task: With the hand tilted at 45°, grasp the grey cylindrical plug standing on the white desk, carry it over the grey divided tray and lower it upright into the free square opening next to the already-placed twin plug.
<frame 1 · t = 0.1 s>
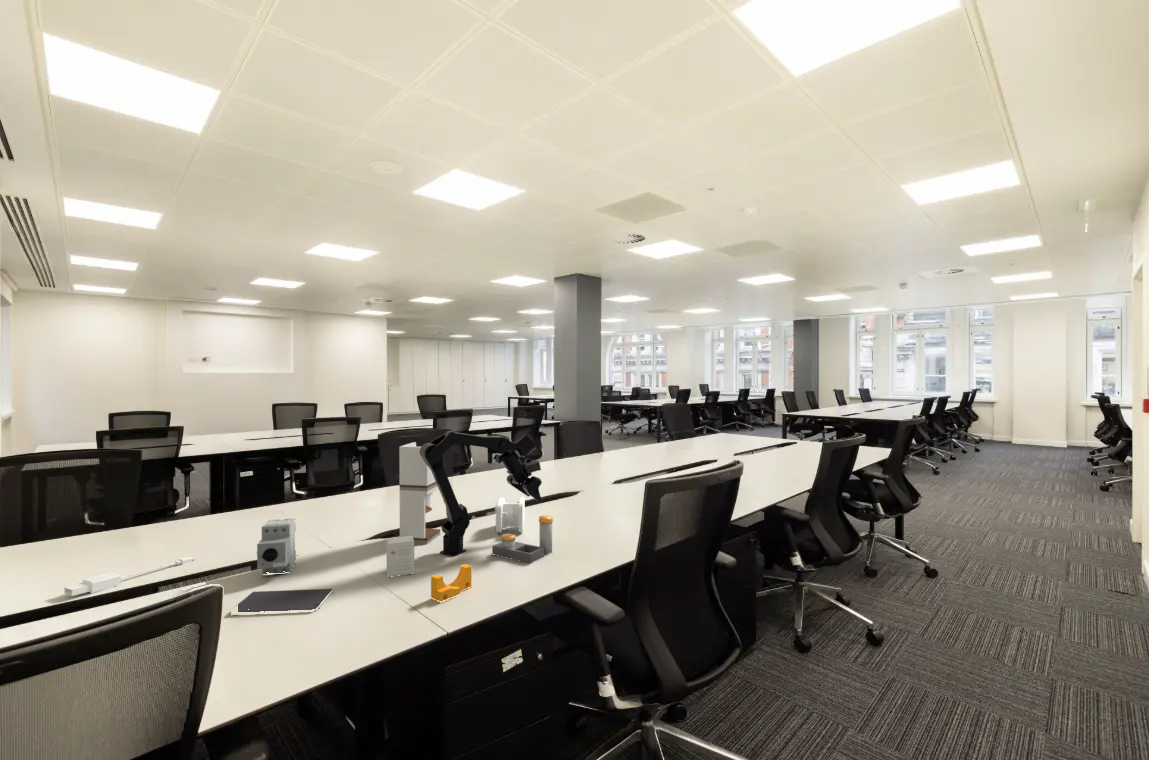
hand: (534, 498, 197), 15 cm above the table, tool tilted 35°, fingers open, 9 cm apart
small box: (400, 573, 163), on the table
pipe clamp: (453, 595, 148), on the table
charging cable: (134, 579, 159), on the table
cable organizer: (510, 530, 208), on the table
plug: (545, 551, 183), on the table
circuit breaker: (276, 574, 162), on the table
grey divided tray: (518, 555, 179), on the table
notebook: (283, 606, 142), on the table
display case: (420, 538, 197), on the table
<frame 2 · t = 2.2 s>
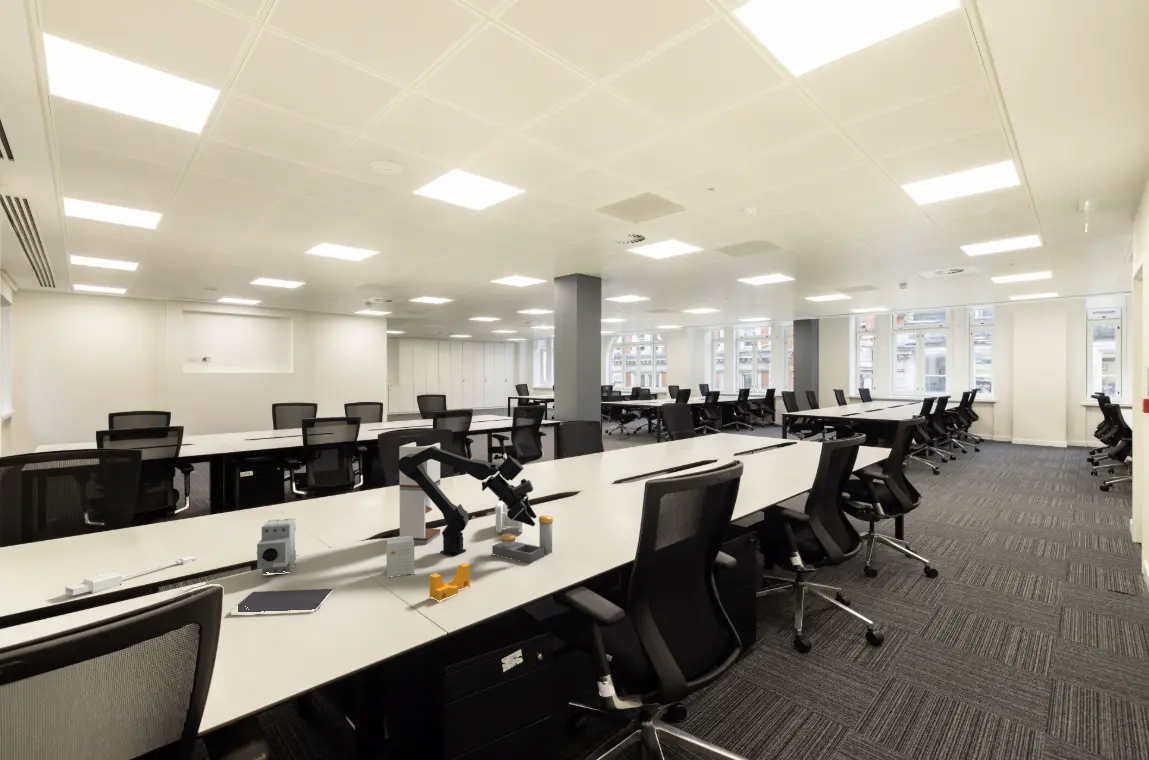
hand: (535, 521, 182), 11 cm above the table, tool tilted 45°, fingers open, 9 cm apart
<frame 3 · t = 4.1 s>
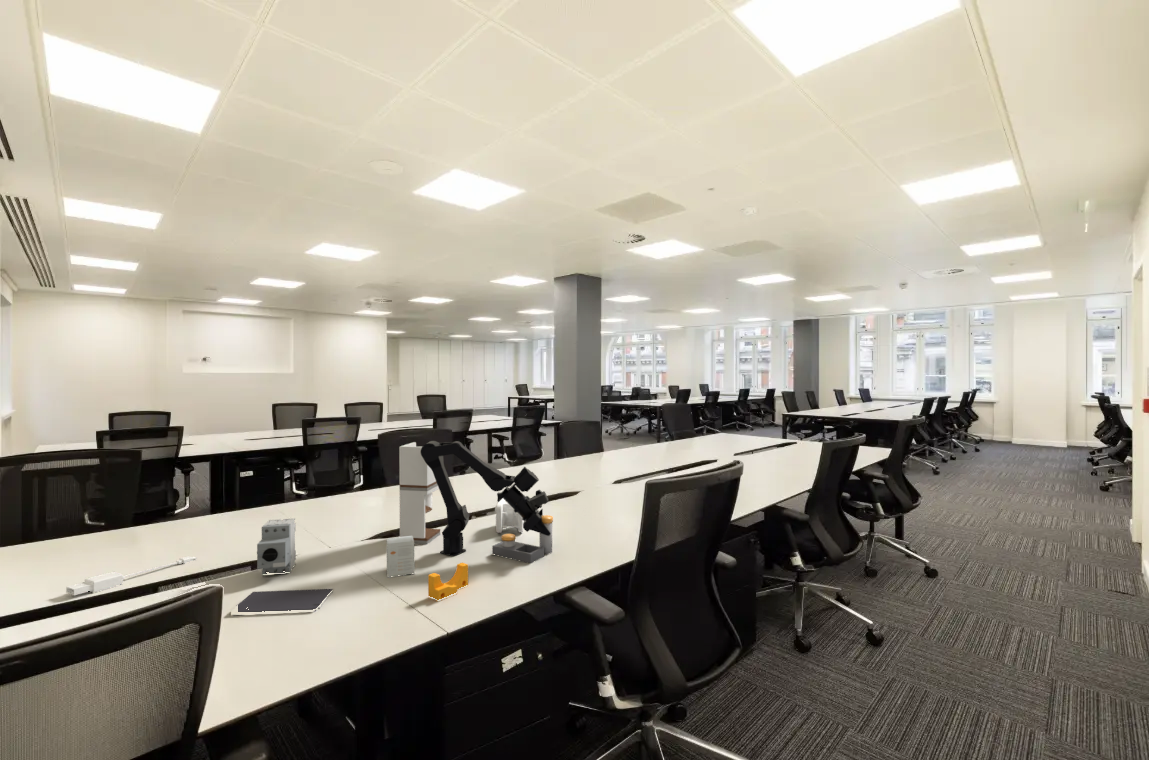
hand: (549, 532, 183), 7 cm above the table, tool tilted 45°, fingers closed on plug, 4 cm apart
plug: (545, 551, 183), on the table, touching gripper
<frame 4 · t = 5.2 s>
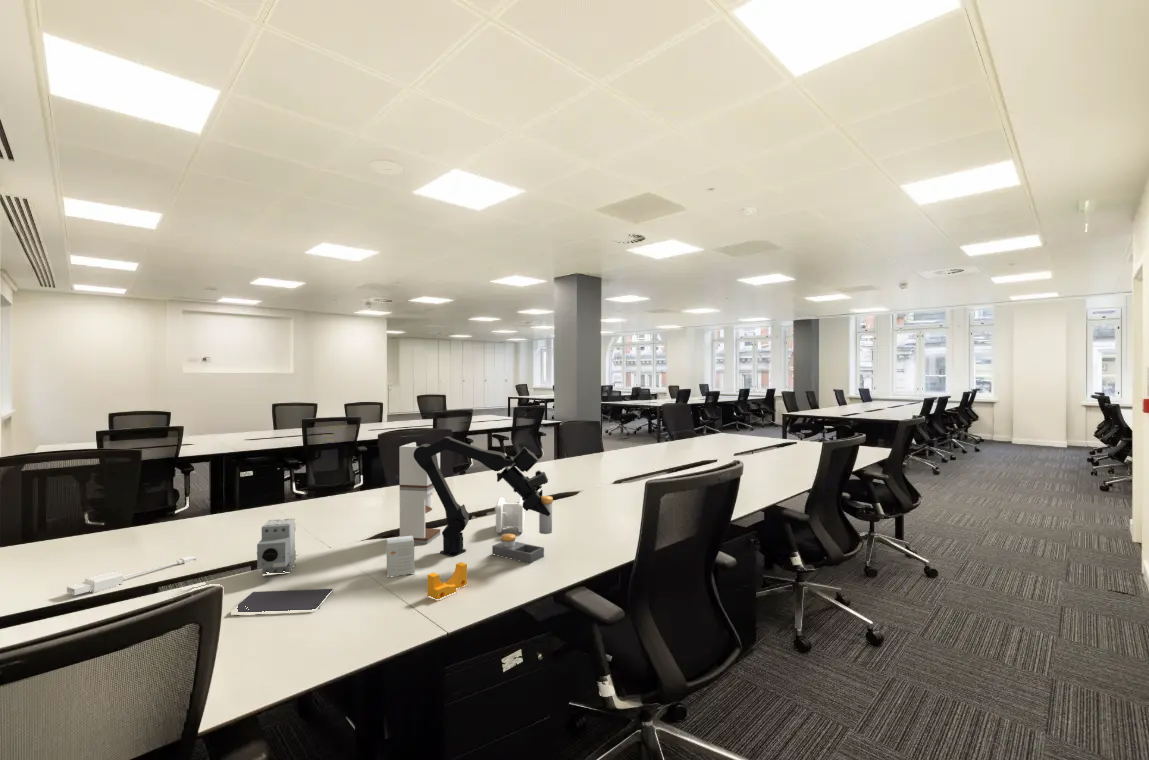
hand: (549, 513, 182), 13 cm above the table, tool tilted 45°, fingers closed on plug, 4 cm apart
plug: (545, 532, 183), point 7 cm above the table, touching gripper
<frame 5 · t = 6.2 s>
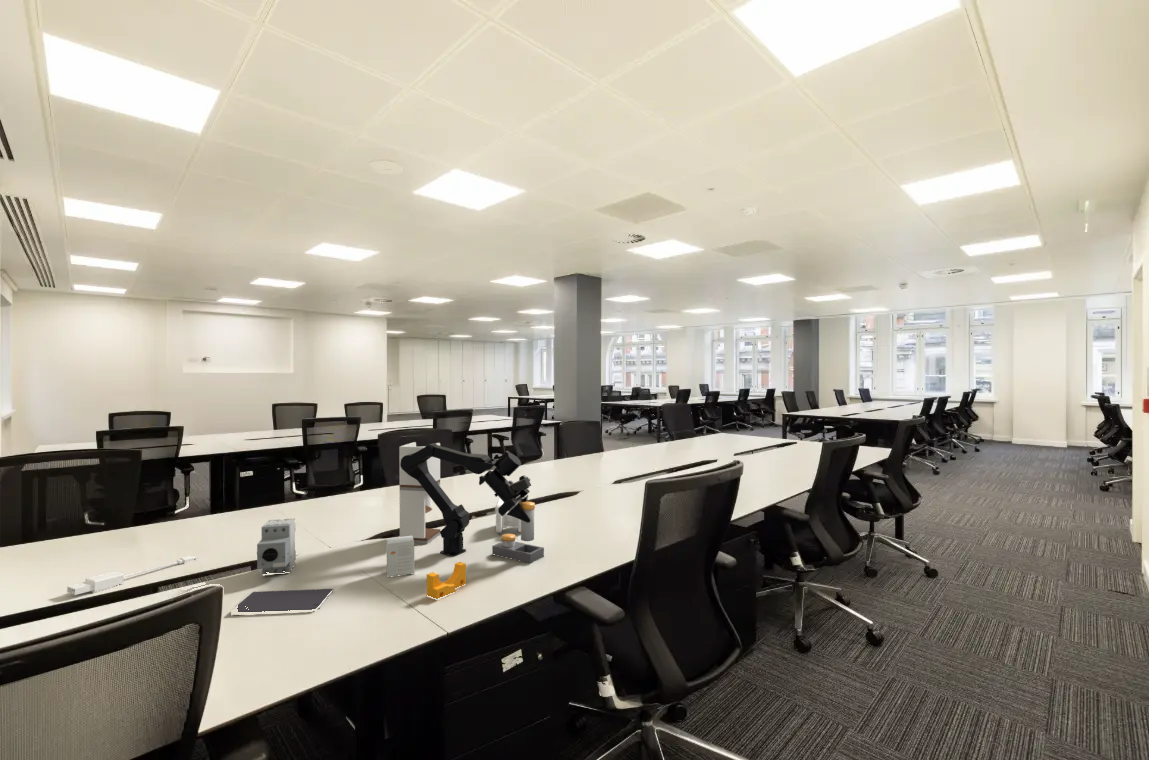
hand: (531, 519, 176), 13 cm above the table, tool tilted 45°, fingers closed on plug, 4 cm apart
plug: (527, 539, 177), point 6 cm above the table, touching gripper
when the fingers open (10 cm above the table, at t = 7.1 s): plug drops 3 cm, resting on grey divided tray.
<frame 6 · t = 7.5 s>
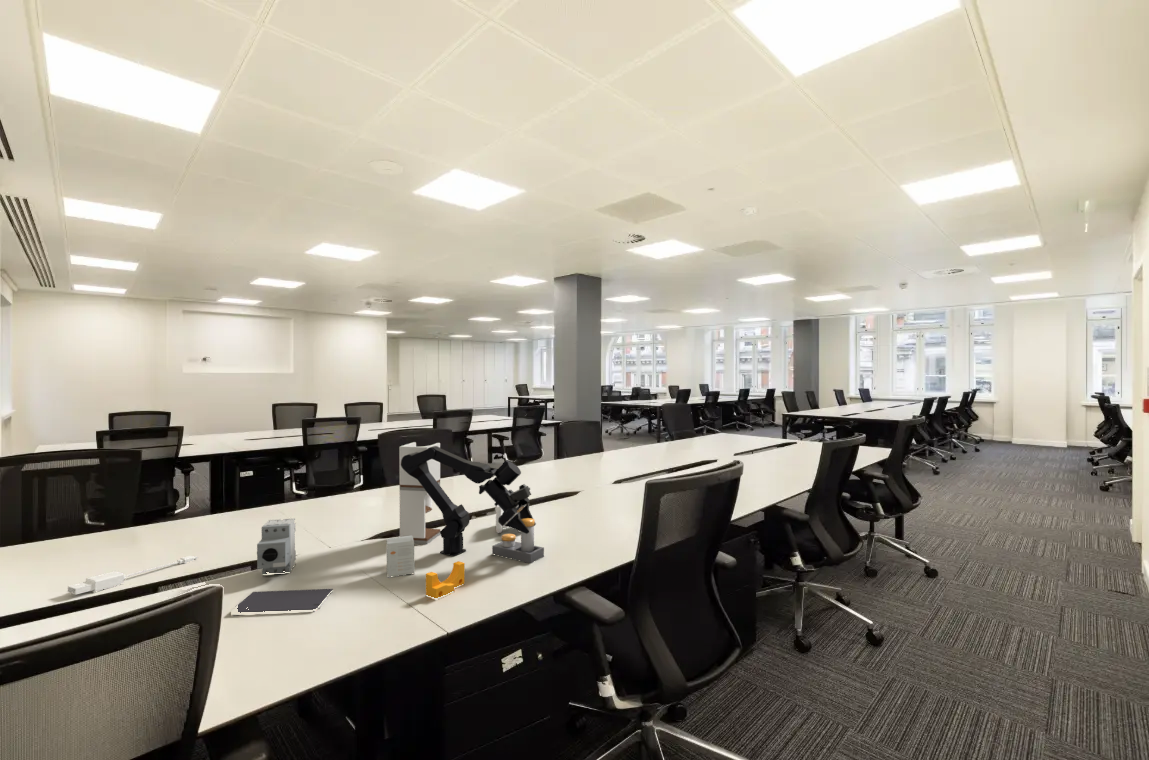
hand: (531, 528, 176), 10 cm above the table, tool tilted 45°, fingers open, 8 cm apart
plug: (527, 555, 177), point 1 cm above the table, touching grey divided tray
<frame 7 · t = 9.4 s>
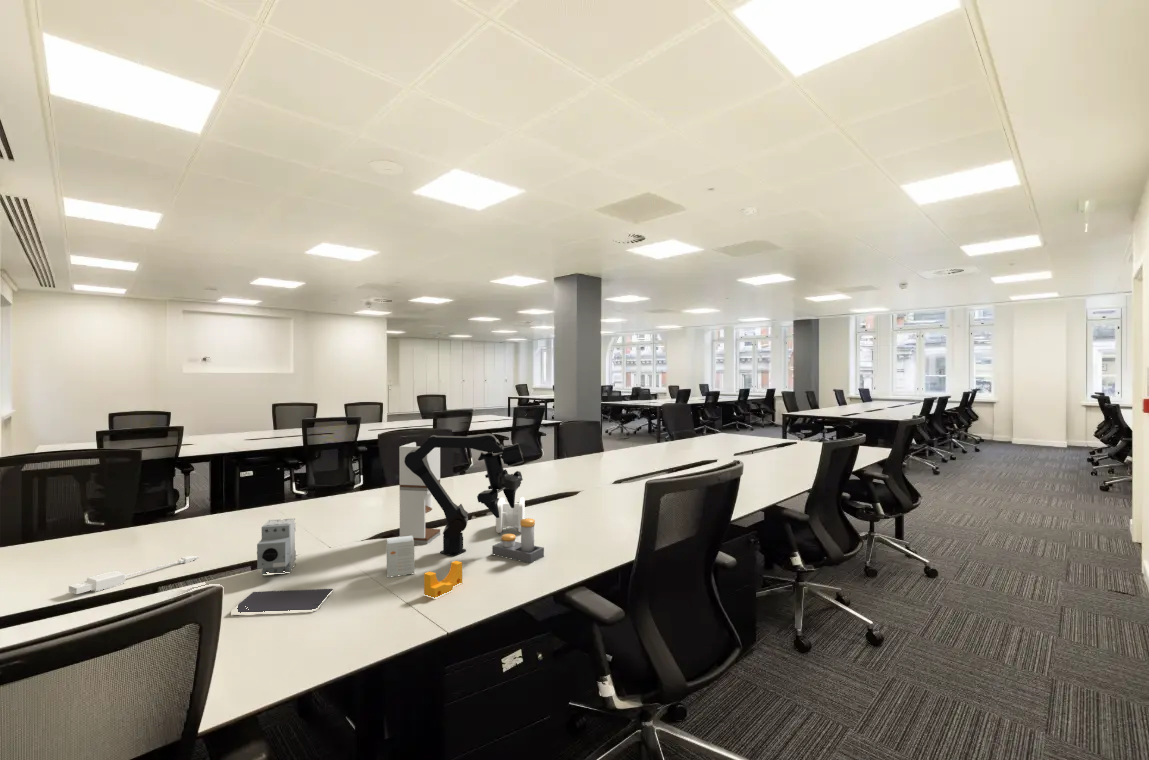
hand: (505, 512, 184), 13 cm above the table, tool pointing down, fingers open, 9 cm apart
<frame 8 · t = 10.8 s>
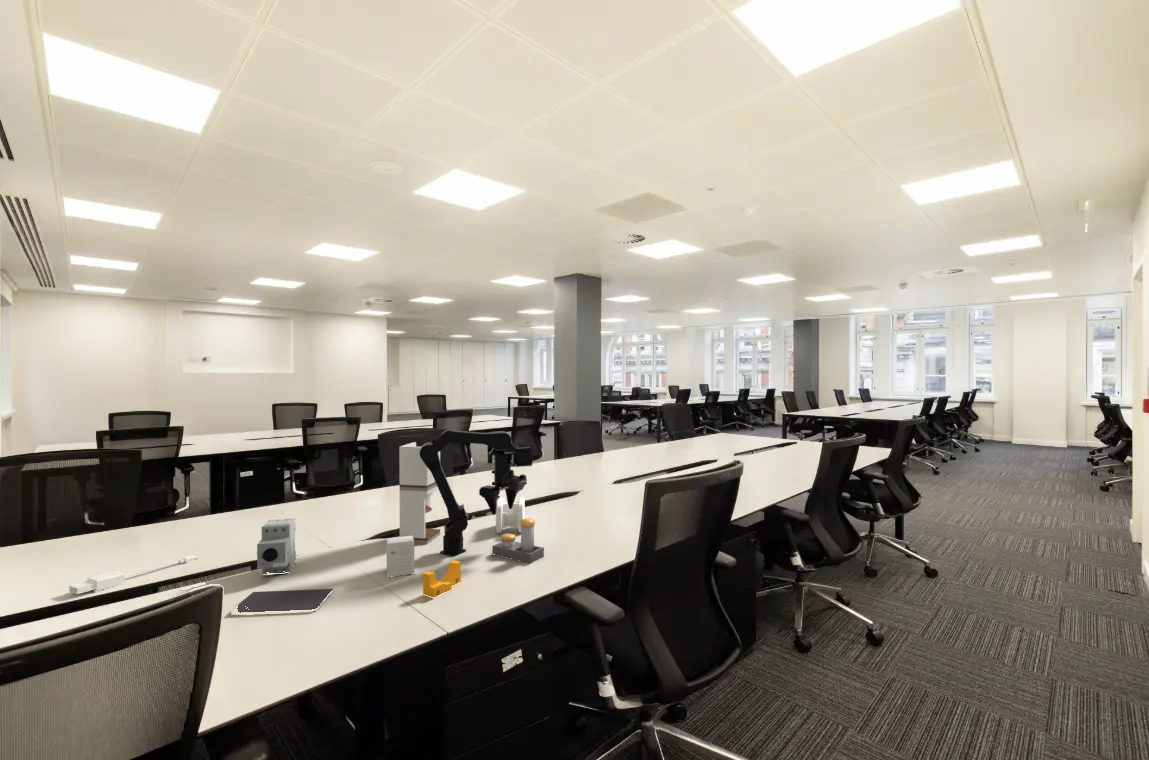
hand: (502, 511, 186), 13 cm above the table, tool pointing down, fingers open, 9 cm apart
at the end: plug 0.1 cm from the target spot on the grey divided tray, point 0.5 cm above the grey divided tray's base; plug tilted 0°; the gripper is holding nothing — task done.
